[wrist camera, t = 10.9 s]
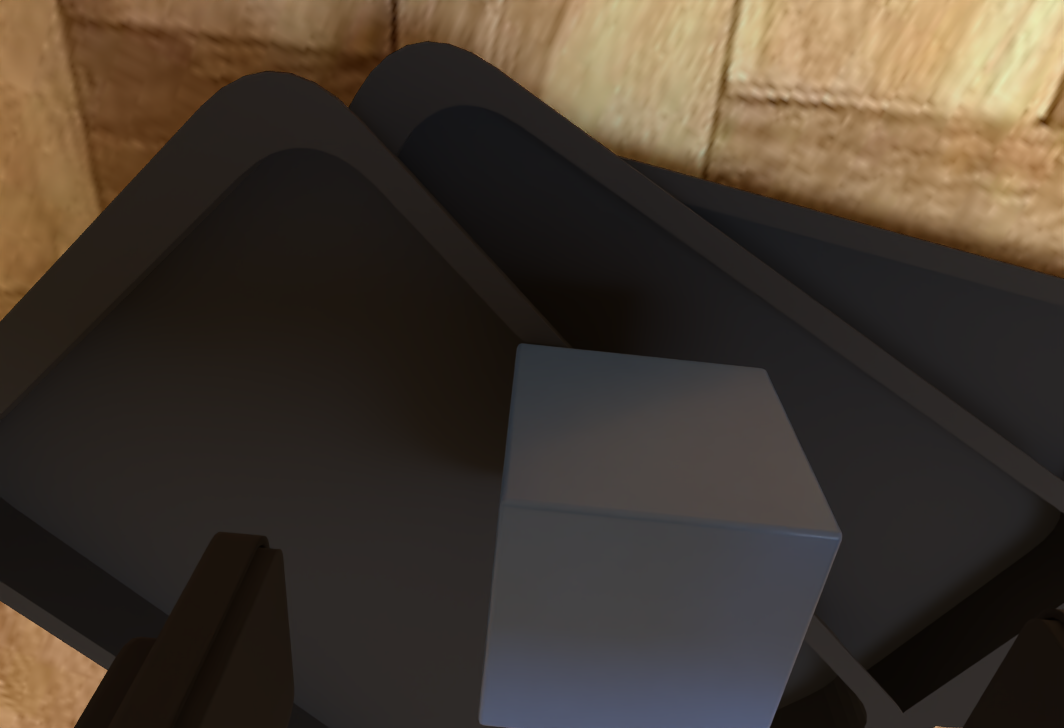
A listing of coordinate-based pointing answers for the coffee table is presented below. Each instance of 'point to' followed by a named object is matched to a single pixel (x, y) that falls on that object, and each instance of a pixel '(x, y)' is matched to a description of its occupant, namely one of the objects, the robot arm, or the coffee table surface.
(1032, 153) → the coffee table surface
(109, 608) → the tray
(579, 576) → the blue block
